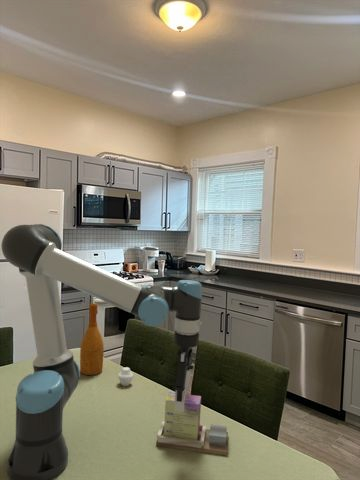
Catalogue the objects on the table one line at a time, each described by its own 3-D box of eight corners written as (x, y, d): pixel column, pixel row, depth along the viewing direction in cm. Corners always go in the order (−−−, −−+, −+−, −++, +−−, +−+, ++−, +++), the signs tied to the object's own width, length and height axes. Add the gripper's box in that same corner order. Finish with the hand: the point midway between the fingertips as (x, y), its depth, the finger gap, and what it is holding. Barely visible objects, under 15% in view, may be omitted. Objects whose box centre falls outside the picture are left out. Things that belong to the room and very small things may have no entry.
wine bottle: (107, 370, 159) (109, 303, 157) (91, 378, 150) (93, 307, 149) (91, 365, 164) (93, 300, 163) (74, 372, 156) (77, 303, 154)
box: (199, 432, 113) (201, 395, 112) (197, 442, 107) (199, 404, 107) (167, 427, 115) (168, 391, 114) (163, 438, 109) (165, 400, 108)
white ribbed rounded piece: (130, 388, 143) (131, 371, 143) (115, 386, 144) (116, 369, 144) (134, 381, 149) (135, 365, 149) (120, 380, 150) (121, 363, 150)
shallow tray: (227, 455, 104) (227, 441, 104) (156, 445, 107) (156, 432, 107) (227, 435, 114) (228, 422, 113) (162, 427, 117) (163, 414, 117)
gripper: (194, 346, 96) (189, 423, 97) (202, 322, 121) (198, 383, 122) (167, 343, 98) (162, 419, 98) (180, 319, 122) (176, 380, 123)
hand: (182, 399), depth 110 cm, fingers open, 13 cm apart
